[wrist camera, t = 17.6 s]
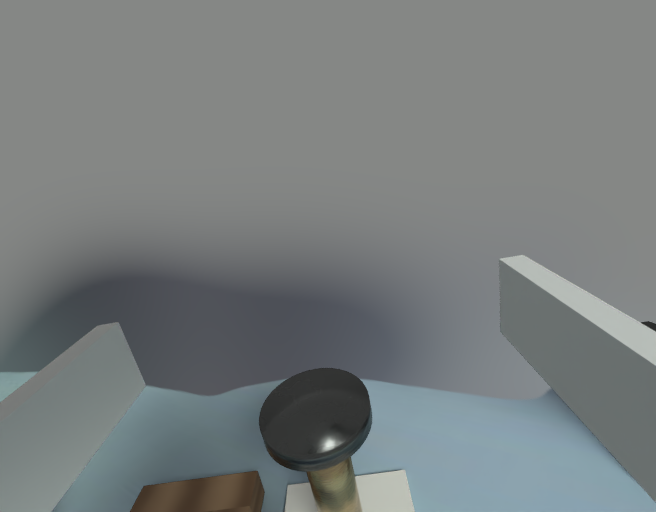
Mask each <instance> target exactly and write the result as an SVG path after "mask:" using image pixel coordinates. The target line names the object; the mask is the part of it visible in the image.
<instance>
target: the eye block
mask: <svg viewBox="0 0 656 512" xmlns="http://www.w3.org/2000/svg"><path fill="white" fill-rule="evenodd" d="M263 498H264V489H263V486H262V483H261V480H260V477H259V474H258V471H252V472H244V473H237V474H229V475H222V476H214V477H207V478H200V479H192V480H185V481H177V482H170V483H162V484H155V485H147V486H144V487H143V488H142V490H141V492H140V494H139V496H138V498H137V499H136V501H135V503H134V505H133V507H132V509H131V511H130V512H261V509H262V503H263Z"/></svg>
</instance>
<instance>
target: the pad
mask: <svg viewBox="0 0 656 512" xmlns="http://www.w3.org/2000/svg"><path fill="white" fill-rule="evenodd" d="M355 479H356V484H357V488H358V493H359V497H360V502H361V507H362V511H363V512H415V511H414V507H413V503H412V498H411V494H410V490H409V485H408V481H407V477H406V472H405V470H400V471H392V472H384V473H377V474H369V475H361V476H355ZM285 512H318V511H317V507H316V504H315V500H314V497H313V493H312V489H311V486H310V482H308V483H300V484H293V485H288V488H287V496H286V505H285Z"/></svg>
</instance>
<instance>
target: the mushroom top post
mask: <svg viewBox="0 0 656 512" xmlns="http://www.w3.org/2000/svg"><path fill="white" fill-rule="evenodd" d="M371 425H372V411H371V405H370V399H369V395H368V391H367V389H366V387H365V385H364V384H363V382H362V381H361V380H360V379H359V378H357V377H356V376H355V375H353V374H351V373H349V372H347V371H343V370H340V369H333V368H319V369H313V370H308V371H305V372H302V373H299V374H297V375H295V376H292V377H291V378H289V379H287V380H286V381H284V382H283V383H281V384H280V385H279V386H278V387H276V388H275V389H274V390H273V391H272V392H271V394H270V395H269V396H268V397H267V399H266V400H265V402H264V404H263V406H262V409H261V412H260V416H259V426H260V431H261V434H262V437H263V440H264V443H265V446H266V448H267V451H268V452H269V454H270V456H271V457H272V458H273V459H274V460H275V461H276V462H278V463H279V464H280V465H282V466H284V467H286V468H289V469H292V470H296V471H306V472H307V475H308V479H309V482H310V486H311V489H312V493H313V497H314V500H315V504H316V507H317V511H318V512H363V511H362V507H361V502H360V497H359V493H358V488H357V484H356V479H355V474H354V470H353V465H352V461H351V456H352V455H353V454H354V453H355V452H356V451H357V450H358V449H359V448H360V447H361V445H362V444H363V443H364V441H365V440H366V438H367V436H368V434H369V432H370V429H371Z"/></svg>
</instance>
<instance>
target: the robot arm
mask: <svg viewBox="0 0 656 512" xmlns="http://www.w3.org/2000/svg"><path fill="white" fill-rule="evenodd" d="M499 279H500V331H501V333H502V334H503V335H504V336H505V337H506V338H507V339H508V340H509V342H510V343H511V344H512V345H513V346H514V347H515V348H516V349H517V350H518V351H519V352H520V354H521V355H522V356H523V357H524V358H525V359H526V360H527V361H528V363H529V364H530V365H531V366H532V367H533V368H534V369H535V370H536V371H537V372H538V374H539V375H541V377H542V378H543V379H544V380H545V381H546V382H547V383H548V385H549V386H550V387H551V388H552V389H553V390H554V391H555V392H556V393H557V394H558V396H559V397H560V398H561V399H562V400H563V401H564V402H565V403H566V404H567V405H568V407H569V408H570V409H571V410H572V411H573V412H574V413H575V414H576V415H577V416H578V418H579V419H580V420H581V421H582V422H583V423H584V424H585V425H586V426H587V427H588V429H589V430H590V431H591V432H592V433H593V434H594V435H595V436H596V437H597V438H598V440H599V441H600V442H601V443H602V444H603V445H604V446H605V447H606V448H607V449H608V451H609V452H610V453H611V454H612V455H613V456H614V457H615V458H616V459H617V460H618V462H619V463H620V464H621V465H622V466H623V467H624V468H625V469H626V470H627V471H628V473H629V474H630V475H631V476H632V477H633V478H634V479H635V480H636V481H637V482H638V484H639V485H640V486H641V487H642V488H643V489H644V490H645V491H646V492H647V493H648V495H649V496H650V497H651V498H652V499H653V500H654V501H655V502H656V324H654V323H652V322H649V321H648V322H641V323H640V322H638V321H636V320H635V319H633V318H631V317H629V316H628V315H626V314H624V313H623V312H621V311H619V310H617V309H616V308H614V307H612V306H610V305H609V304H607V303H605V302H603V301H602V300H600V299H598V298H597V297H595V296H593V295H591V294H590V293H588V292H586V291H585V290H583V289H581V288H579V287H578V286H576V285H574V284H572V283H571V282H569V281H567V280H565V279H564V278H562V277H560V276H559V275H557V274H555V273H553V272H552V271H550V270H548V269H546V268H545V267H543V266H541V265H540V264H538V263H536V262H534V261H532V260H531V259H529V258H527V257H526V256H524V255H520V256H514V257H508V258H502V259H499ZM145 387H146V385H145V382H144V380H143V378H142V375H141V373H140V371H139V369H138V366H137V364H136V362H135V360H134V357H133V355H132V353H131V350H130V348H129V346H128V343H127V341H126V339H125V336H124V334H123V332H122V330H121V327H120V325H119V323H118V322H116V323H111V324H104V325H98V326H96V327H95V328H94V329H93V330H91V331H90V332H89V333H88V334H86V335H85V336H84V337H83V338H81V339H80V340H79V341H78V342H77V343H75V344H74V345H72V346H71V347H70V348H69V349H67V350H66V351H65V352H64V353H62V354H61V355H60V356H59V357H58V358H56V359H55V360H53V361H52V362H51V363H50V364H48V365H47V366H46V367H45V368H43V369H42V370H41V371H40V372H38V373H37V374H36V375H35V376H33V377H32V378H31V379H29V380H28V381H27V382H26V383H24V384H23V385H22V386H21V387H19V388H18V389H17V390H16V391H14V392H13V393H12V394H10V395H9V396H8V397H7V398H5V399H4V400H3V401H2V402H0V512H52V510H53V509H54V508H55V506H56V505H57V504H58V502H59V501H60V500H61V498H62V497H63V496H64V494H65V493H66V492H67V490H68V489H69V488H70V486H71V485H72V484H73V482H74V481H75V480H76V478H77V477H78V476H79V474H80V473H81V472H82V470H83V469H84V468H85V466H86V465H87V464H88V462H89V461H90V460H91V458H92V457H93V456H94V454H95V453H96V452H97V450H98V449H99V448H100V446H101V445H102V444H103V442H104V441H105V440H106V438H107V437H108V436H109V434H110V433H111V432H112V431H113V429H114V428H115V427H116V425H117V424H118V423H119V421H120V420H121V419H122V417H123V416H124V415H125V413H126V412H127V411H128V409H129V408H130V407H131V405H132V404H133V403H134V401H135V400H136V399H137V397H138V396H139V395H140V393H141V392H142V391H143V389H144V388H145Z"/></svg>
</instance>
